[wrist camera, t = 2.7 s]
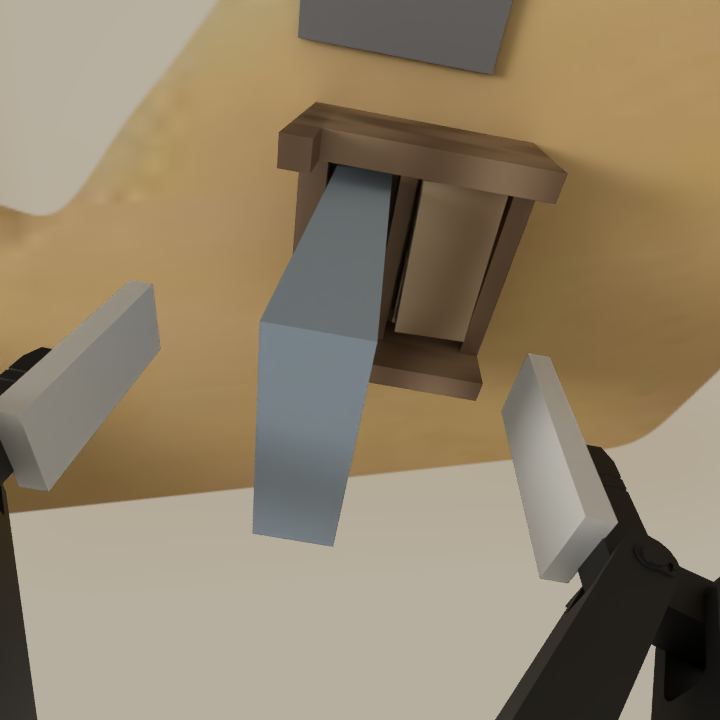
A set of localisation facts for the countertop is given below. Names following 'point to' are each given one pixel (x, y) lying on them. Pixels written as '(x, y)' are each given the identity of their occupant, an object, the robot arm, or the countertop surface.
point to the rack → (408, 167)
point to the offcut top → (447, 259)
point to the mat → (412, 28)
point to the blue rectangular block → (319, 359)
